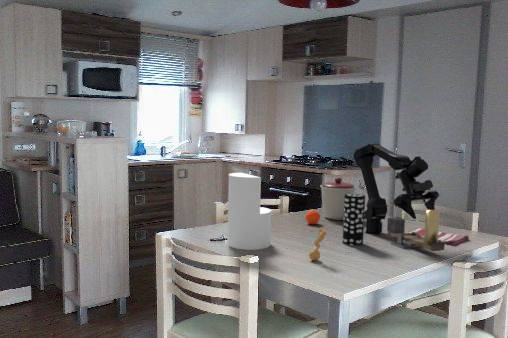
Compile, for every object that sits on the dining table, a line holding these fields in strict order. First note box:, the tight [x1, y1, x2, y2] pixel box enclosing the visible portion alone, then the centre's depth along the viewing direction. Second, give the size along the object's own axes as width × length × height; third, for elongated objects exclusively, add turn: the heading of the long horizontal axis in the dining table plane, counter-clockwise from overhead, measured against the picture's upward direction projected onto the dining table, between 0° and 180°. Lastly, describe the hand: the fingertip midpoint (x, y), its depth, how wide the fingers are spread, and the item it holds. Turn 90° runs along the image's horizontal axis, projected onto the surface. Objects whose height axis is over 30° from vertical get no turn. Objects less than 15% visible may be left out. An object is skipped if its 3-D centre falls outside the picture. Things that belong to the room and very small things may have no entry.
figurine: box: [308, 228, 327, 262], centre depth 185 cm, size 8×6×12 cm
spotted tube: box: [342, 193, 366, 247], centre depth 212 cm, size 8×8×20 cm
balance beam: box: [386, 216, 446, 252], centre depth 207 cm, size 29×5×7 cm, turn 21°
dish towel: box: [405, 227, 470, 247], centre depth 226 cm, size 17×23×3 cm
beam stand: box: [390, 232, 422, 250], centre depth 211 cm, size 8×10×5 cm
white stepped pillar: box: [227, 172, 272, 251], centre depth 206 cm, size 17×17×28 cm
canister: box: [319, 176, 357, 221], centre depth 263 cm, size 18×18×21 cm
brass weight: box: [424, 208, 441, 245], centre depth 197 cm, size 5×5×13 cm
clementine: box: [305, 209, 321, 225], centre depth 248 cm, size 8×7×7 cm
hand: (424, 217), depth 205 cm, fingers open, 9 cm apart
